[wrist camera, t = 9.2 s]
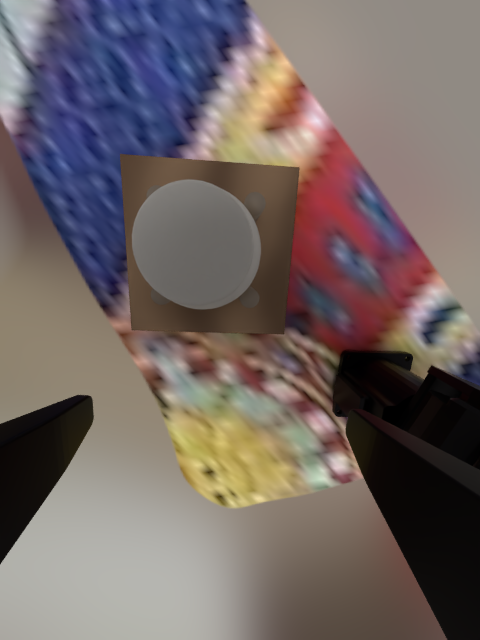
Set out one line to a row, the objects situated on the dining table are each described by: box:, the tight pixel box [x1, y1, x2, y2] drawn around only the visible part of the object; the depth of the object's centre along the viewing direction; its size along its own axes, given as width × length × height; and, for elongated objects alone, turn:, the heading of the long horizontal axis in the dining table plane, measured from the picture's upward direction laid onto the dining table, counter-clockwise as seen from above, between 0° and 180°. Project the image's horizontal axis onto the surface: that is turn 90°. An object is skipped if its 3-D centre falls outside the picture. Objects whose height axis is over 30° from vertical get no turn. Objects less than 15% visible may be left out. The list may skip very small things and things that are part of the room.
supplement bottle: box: [132, 179, 261, 309], centre depth 12 cm, size 5×5×10 cm
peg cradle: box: [120, 154, 299, 334], centre depth 16 cm, size 12×12×5 cm
